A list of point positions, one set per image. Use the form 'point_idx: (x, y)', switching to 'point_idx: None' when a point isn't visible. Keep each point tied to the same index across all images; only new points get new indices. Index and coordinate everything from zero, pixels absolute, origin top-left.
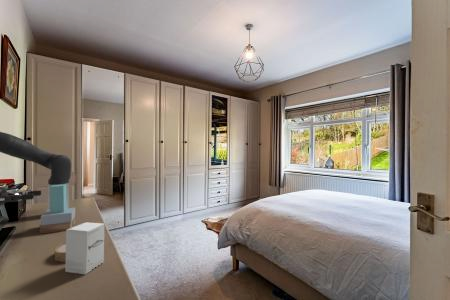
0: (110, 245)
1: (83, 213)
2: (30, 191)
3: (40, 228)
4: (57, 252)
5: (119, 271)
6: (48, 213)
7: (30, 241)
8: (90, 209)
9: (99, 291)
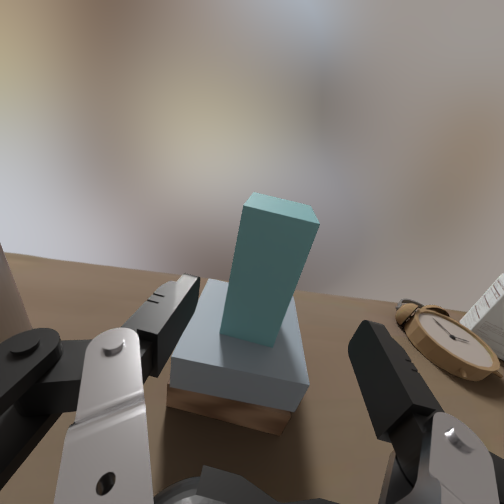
0: (393, 303)
1: (97, 289)
2: (137, 339)
3: (285, 421)
4: (499, 366)
5: None
6: (266, 354)
7: (376, 465)
8: (60, 268)
9: None
